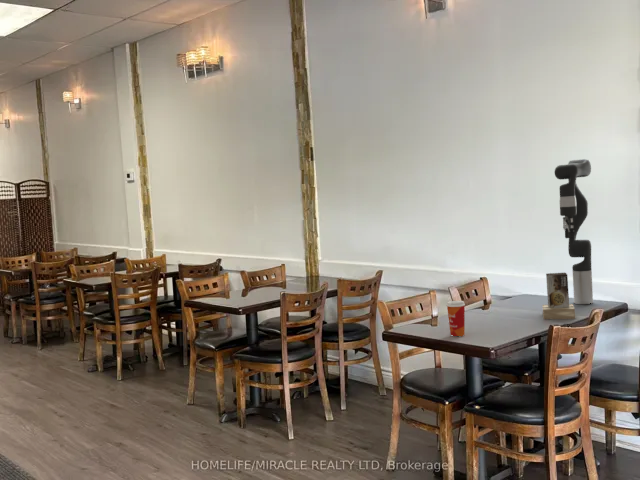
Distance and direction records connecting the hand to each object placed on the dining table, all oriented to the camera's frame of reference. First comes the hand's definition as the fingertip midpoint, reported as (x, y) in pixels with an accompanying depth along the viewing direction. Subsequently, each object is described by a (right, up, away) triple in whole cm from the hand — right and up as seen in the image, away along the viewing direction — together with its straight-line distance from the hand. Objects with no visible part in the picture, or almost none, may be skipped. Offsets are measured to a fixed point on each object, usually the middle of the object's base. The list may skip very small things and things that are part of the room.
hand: (569, 238), depth 324 cm
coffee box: (-7, -33, -5) cm, 34 cm away
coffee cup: (-61, -43, -30) cm, 80 cm away
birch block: (-7, -38, -5) cm, 39 cm away
